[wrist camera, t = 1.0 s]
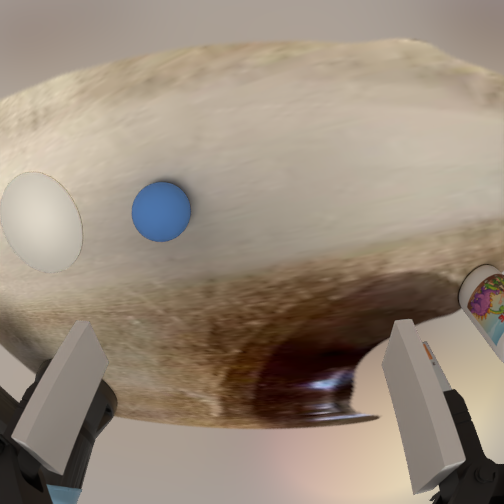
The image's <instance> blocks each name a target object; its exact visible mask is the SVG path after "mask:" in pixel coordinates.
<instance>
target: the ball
mask: <svg viewBox="0 0 504 504" xmlns="http://www.w3.org/2000/svg"><path fill="white" fill-rule="evenodd" d="M190 215H191V209H190V203H189V200H188V198H187V196H186V195H185V193H184V192H183V191H182V190H181V189H180V188H179V187H177V186H175V185H173V184H171V183H167V182H157V183H153V184H150V185H148V186H146V187H145V188H143V189H142V190H141V191H140V192H139V193H138V195H137V196H136V198H135V200H134V203H133V206H132V219H133V222H134V225H135V227H136V229H137V230H138V231H139V233H140V234H142V235H143V236H144V237H146V238H147V239H149V240H152V241H156V242H165V241H169V240H172V239H174V238H176V237H178V236H179V235H180V234H181V233H182V232H183V231H184V230H185V228H186V227H187V225H188V223H189V220H190Z"/></svg>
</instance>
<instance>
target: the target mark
mask: <svg viewBox="0 0 504 504" xmlns="http://www.w3.org/2000/svg"><path fill="white" fill-rule="evenodd" d="M0 218H1V224H2V228H3V232H4V235H5V237H6V239H7V241H8V243H9V245H10V247H11V248H12V250H13V251H14V252H15V254H16V255H17V256H18V257H19V258H20V259H21V260H22V261H23V262H24V263H26V264H27V265H29V266H30V267H32V268H34V269H36V270H38V271H41V272H45V273H57V272H61V271H64V270H66V269H67V268H69V267H70V266H71V265H72V264H73V263H74V262H75V260H76V259H77V257H78V256H79V253H80V251H81V247H82V241H83V229H82V222H81V218H80V215H79V212H78V209H77V207H76V205H75V203H74V201H73V199H72V198H71V196H70V195H69V193H68V192H67V191H66V189H65V188H64V187H63V186H62V185H61V184H60V183H58V182H57V181H56V180H55V179H53V178H52V177H50V176H48V175H46V174H43V173H39V172H26V173H23V174H20V175H18V176H17V177H15V178H14V179H13V180H12V181H11V182H10V183H9V184H8V185H7V187H6V189H5V191H4V193H3V196H2V199H1V205H0Z"/></svg>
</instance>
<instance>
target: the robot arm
mask: <svg viewBox="0 0 504 504" xmlns="http://www.w3.org/2000/svg"><path fill="white" fill-rule="evenodd" d="M108 364H109V361H108V359H107V357H106V355H105V353H104V351H103V349H102V347H101V345H100V343H99V341H98V339H97V337H96V335H95V332H94V330H93V328H92V326H91V324H90V321H78V320H76V322H75V324H74V325H73V327H72V328H71V330H70V331H69V333H68V335H67V336H66V338H65V339H64V341H63V343H62V344H61V346H60V348H59V349H58V351H57V353H56V354H55V356H54V358H53V359H51V360H47V361H45V362H44V363H42V365H41V367H40V368H39V370H38V372H37V374H36V378H35V382H34V383H33V384H32V385H31V386H30V387H29V388H28V389H27V390H26V392H25V394H24V395H23V397H22V400H21V401H20V403H19V402H17V401H16V400H15V399H14V398H13V397H12V396H11V395H9V394H8V393H7V392H6V391H5V390H4V389H3V388H2V387H1V386H0V504H77V501H78V498H79V495H80V493H81V492H82V489H81V488H82V485H83V481H84V477H85V473H86V470H87V466H88V462H89V459H90V455H91V452H92V448H93V445H94V442H95V439H96V438H97V437H98V435H99V434H100V433H101V432H102V431H103V429H104V428H105V427H106V426H107V424H108V423H109V422H110V421H111V420H112V418H113V416H114V414H115V410H116V407H117V400H116V397H115V395H114V393H113V391H112V390H111V389H110V388H109V386H108V385H107V384H106V383H105V382H104V381H102V380H101V379H102V377H103V375H104V372H105V370H106V368H107V366H108ZM382 367H383V370H384V374H385V378H386V381H387V385H388V388H389V392H390V395H391V399H392V403H393V407H394V410H395V414H396V418H397V422H398V426H399V430H400V434H401V438H402V443H403V447H404V452H405V456H406V461H407V464H408V470H409V475H410V480H411V485H412V490H413V495H415V494H419V493H423V492H427V491H430V490H433V489H434V488H435V487H436V486H437V485H439V489H440V491H439V492H438V493H436V494H435V495H434V496H433V497H432V498H431V499H430V501H433V500H434V499H435V500H434V502H433V503H432V504H504V464H496V463H495V462H493V461H492V460H490V459H488V458H487V457H486V456H485V454H484V452H483V450H482V447H481V444H480V441H479V438H478V435H477V432H476V430H475V427H474V424H473V422H472V421H471V416H470V414H469V412H468V409H467V406H466V404H465V401H464V399H463V398H462V396H461V395H460V394H459V393H458V392H457V391H456V390H455V389H453V390H448V391H444V392H442V389H441V387H440V384H439V381H438V379H437V376H436V374H435V372H434V369H433V367H432V364H431V362H430V360H429V357H428V355H427V353H426V350H425V348H424V346H423V343H422V341H421V339H420V337H419V335H418V332H417V330H416V328H415V326H414V324H413V321H412V319H407V320H396V321H395V322H394V326H393V329H392V333H391V336H390V340H389V343H388V347H387V350H386V353H385V356H384V359H383V362H382Z"/></svg>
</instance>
